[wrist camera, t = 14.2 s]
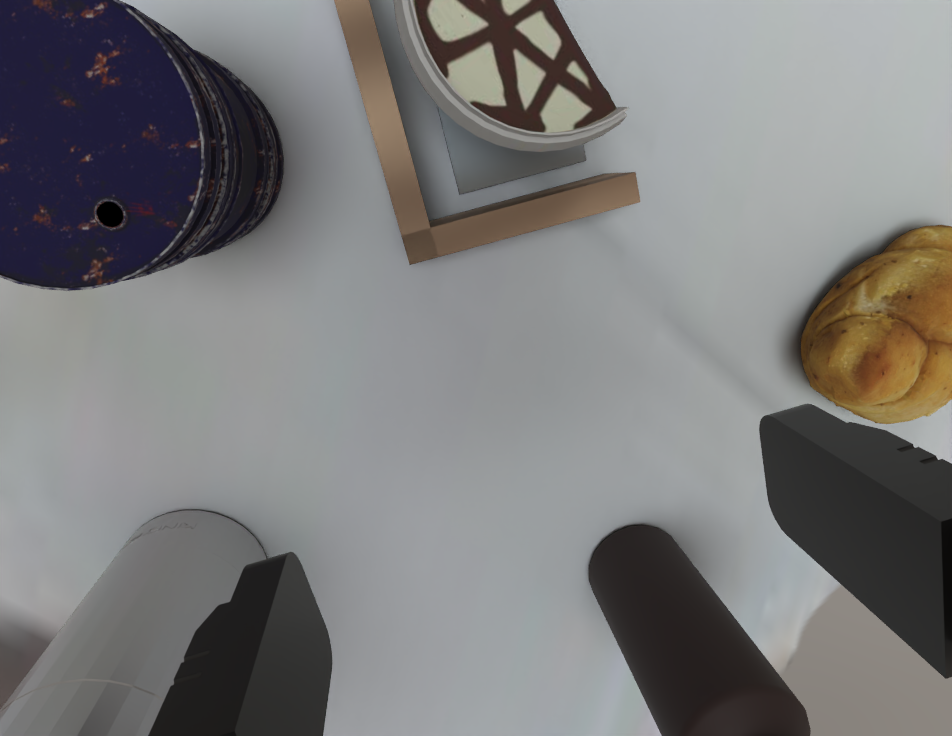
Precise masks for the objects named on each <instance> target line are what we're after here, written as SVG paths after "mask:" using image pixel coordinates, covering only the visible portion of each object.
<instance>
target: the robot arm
mask: <svg viewBox="0 0 952 736" xmlns="http://www.w3.org/2000/svg"><path fill="white" fill-rule="evenodd" d="M759 431H760V440H761V448H762V456H763V464H764V472H765V480H766V488H767V496H768V501H769V505H770V508H771V511H772V513H773V515H774V518H775V520H776V521H777V523H778V525H779V526H780V528H781V529H782V530H783V532H784V533H785V534H786V535H787V536H788V537H789V538H791V539H792V540H793V541H794V542H795V543H796V544H797V545H798V546H799V547H801V548H802V549H803V550H804V551H805V552H806V553H807V554H808V555H809V556H810V557H812V558H813V559H814V560H815V561H816V562H817V563H818V564H819V565H820V566H822V567H823V568H824V569H825V570H826V571H827V572H828V573H829V574H830V575H832V576H833V577H834V578H835V579H836V580H837V581H838V582H839V583H840V584H841V585H843V586H844V587H845V588H846V589H847V590H848V591H849V592H851V593H852V594H853V595H854V596H855V597H856V598H857V599H858V600H859V601H860V602H861V603H863V604H864V605H865V606H866V607H867V608H868V609H869V610H870V611H871V612H873V613H874V614H875V615H876V616H877V617H878V618H879V619H880V620H882V621H883V622H884V623H885V624H886V625H887V626H888V627H889V628H890V629H891V630H892V631H894V632H895V633H896V634H897V635H898V636H899V637H900V638H901V639H902V640H903V641H905V642H906V643H907V644H908V645H909V646H910V647H911V648H912V649H913V650H915V651H916V652H917V653H918V654H919V655H920V656H921V657H922V658H924V659H925V660H926V661H927V662H928V663H929V664H930V665H931V666H932V667H933V668H935V669H936V670H937V671H938V672H939V673H940V674H941V675H942V676H943V677H944V678H949V677H952V464H951V463H949V462H947V461H945V460H943V459H941V460H938V459H937V458H936V456H935V455H933V454H931V453H929V452H927V451H925V450H923V449H921V448H919V447H917V448H914V446H913V444H911V443H909V442H907V441H906V440H904V439H902V438H900V437H898V436H896V435H894V434H892V433H890V432H888V431H886V430H882V429H878V428H873V427H869V426H865V425H861V424H856V423H852V422H849V423H846V422H844V421H842V420H840V419H838V418H837V417H835V416H833V415H831V414H829V413H827V412H825V411H823V410H822V409H820V408H818V407H816V406H814V405H812V404H804V405H801V406H797V407H794V408H790V409H787V410H783V411H780V412H776V413H773V414H770V415H766V416H764V417H763V418H762V419H761V421H760V427H759ZM331 672H332V651H331V644H330V639H329V635H328V631H327V628H326V625H325V623H324V620H323V618H322V615H321V613H320V610H319V608H318V605H317V603H316V600H315V598H314V595H313V593H312V590H311V588H310V585H309V583H308V580H307V578H306V575H305V572H304V570H303V567H302V565H301V563H300V561H299V559H298V557H297V556H296V555H295V554H294V553H293V552H289V553H285V554H282V555H279V556H275V557H272V558H268V559H267V558H266V556H265V553H264V551H263V548H262V547H261V546H260V544H259V543H258V541H257V540H256V538H255V537H254V536H253V535H252V534H251V533H250V532H248V531H247V530H246V529H245V528H244V527H243V526H241V525H239V524H238V523H236V522H235V521H233V520H231V519H229V518H226V517H224V516H221V515H218V514H216V513H211V512H205V511H200V510H183V511H178V512H172V513H167V514H165V515H162V516H159V517H157V518H154V519H152V520H151V521H149V522H148V523H146V524H145V525H143V526H142V527H140V528H139V529H138V530H137V531H136V532H135V533H134V534H133V535H132V536H131V537H130V539H129V540H128V541H127V543H126V544H125V545H124V547H123V548H122V549H121V550H120V552H119V553H118V554H117V556H116V557H115V558H114V560H113V561H112V562H111V564H110V565H109V566H108V568H107V569H106V570H105V572H104V573H103V574H102V575H101V577H100V578H99V579H98V581H97V582H96V583H95V585H94V586H93V587H92V588H91V590H90V591H89V592H88V594H87V595H86V596H85V598H84V599H83V600H82V602H81V603H80V604H79V606H78V607H77V608H76V610H75V611H74V612H73V614H72V615H71V616H70V618H69V619H68V620H67V622H66V623H65V624H64V626H63V627H62V628H61V630H60V631H59V632H58V634H57V635H56V636H55V638H54V639H53V640H52V642H51V643H50V644H49V646H48V647H47V648H46V650H45V651H44V652H43V654H42V655H41V656H40V658H39V659H38V660H37V662H36V663H35V664H34V666H33V667H32V668H31V670H30V671H29V672H28V674H27V675H26V676H25V678H24V679H23V680H22V682H21V683H20V684H19V686H18V687H17V688H16V690H15V691H14V692H13V694H12V695H11V696H10V698H9V699H8V700H7V702H6V703H5V704H4V705H3V707H2V708H1V709H0V736H323V731H324V723H325V716H326V709H327V701H328V694H329V687H330V679H331Z"/></svg>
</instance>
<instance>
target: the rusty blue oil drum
mask: <svg viewBox="0 0 952 736" xmlns="http://www.w3.org/2000/svg"><path fill="white" fill-rule="evenodd" d="M283 162H284V159H283V151H282V144H281V141H280V137H279V134H278V131H277V128H276V126H275V124H274V122H273V119H272V117H271V115H270V114H269V112H268V111H267V109H266V107H265V106H264V104H263V103H262V102H261V100H260V99H259V98H258V97H257V96H256V95H255V94H254V92H253V91H252V90H251V89H250V88H248V87H247V86H246V85H245V84H244V83H243V82H242V81H241V80H239V79H238V78H237V77H236V76H235V75H234V74H233V73H231V72H230V71H229V70H228V69H226V68H225V67H223V66H222V65H220V64H219V63H217V62H216V61H214V60H213V59H211V58H210V57H208V56H206V55H204V54H202V53H200V52H198V51H196V50H193V49H192V48H191V47H190V46H188V45H187V44H186V43H185V42H184V41H183V40H182V39H180V38H179V37H178V36H177V35H176V34H174V33H173V32H171V31H170V30H168V29H167V28H165V27H164V26H162V25H160V24H159V23H157V22H156V21H154V20H153V19H151V18H150V17H148V16H146V15H145V14H143V13H142V12H140V11H139V10H137V9H136V8H134V7H133V6H130V5H128V4H126V3H124V2H122V1H120V0H0V277H1V278H4V279H7V280H9V281H12V282H15V283H18V284H22V285H27V286H32V287H36V288H41V289H51V290H64V291H69V290H83V289H93V288H97V287H102V286H106V285H110V284H114V283H117V282H120V281H125V280H129V279H134V278H138V277H143V276H146V275H149V274H152V273H154V272H157V271H160V270H164V269H167V268H170V267H172V266H175V265H177V264H179V263H182V262H184V261H185V260H187V259H189V258H193V257H197V256H202V255H206V254H209V253H211V252H214V251H216V250H219V249H221V248H222V247H225V246H227V245H229V244H231V243H233V242H234V241H236V240H238V239H239V238H241V237H243V236H245V235H246V234H248V233H249V232H251V231H252V230H253V229H255V228H256V227H257V226H258V225H259V224H260V223H261V222H262V221H263V220H264V219H265V217H266V216H267V215H268V214H269V212H270V211H271V209H272V207H273V205H274V203H275V202H276V200H277V197H278V194H279V191H280V188H281V184H282V178H283Z"/></svg>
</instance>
